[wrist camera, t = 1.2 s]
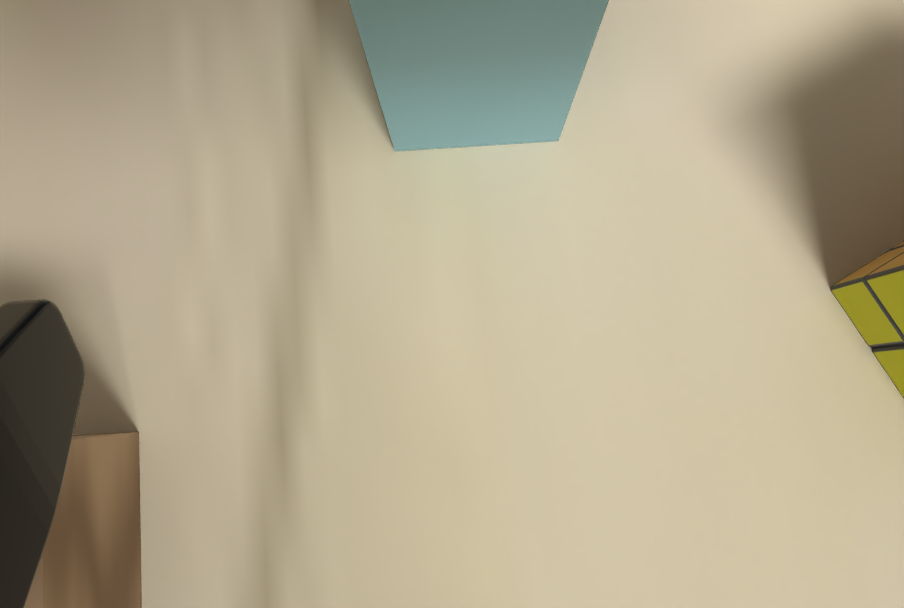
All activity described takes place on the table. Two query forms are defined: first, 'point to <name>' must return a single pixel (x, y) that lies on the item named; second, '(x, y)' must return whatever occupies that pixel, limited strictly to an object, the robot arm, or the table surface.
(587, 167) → the table surface
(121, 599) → the walnut cube
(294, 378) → the table surface
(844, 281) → the puzzle toy
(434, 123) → the teal block
